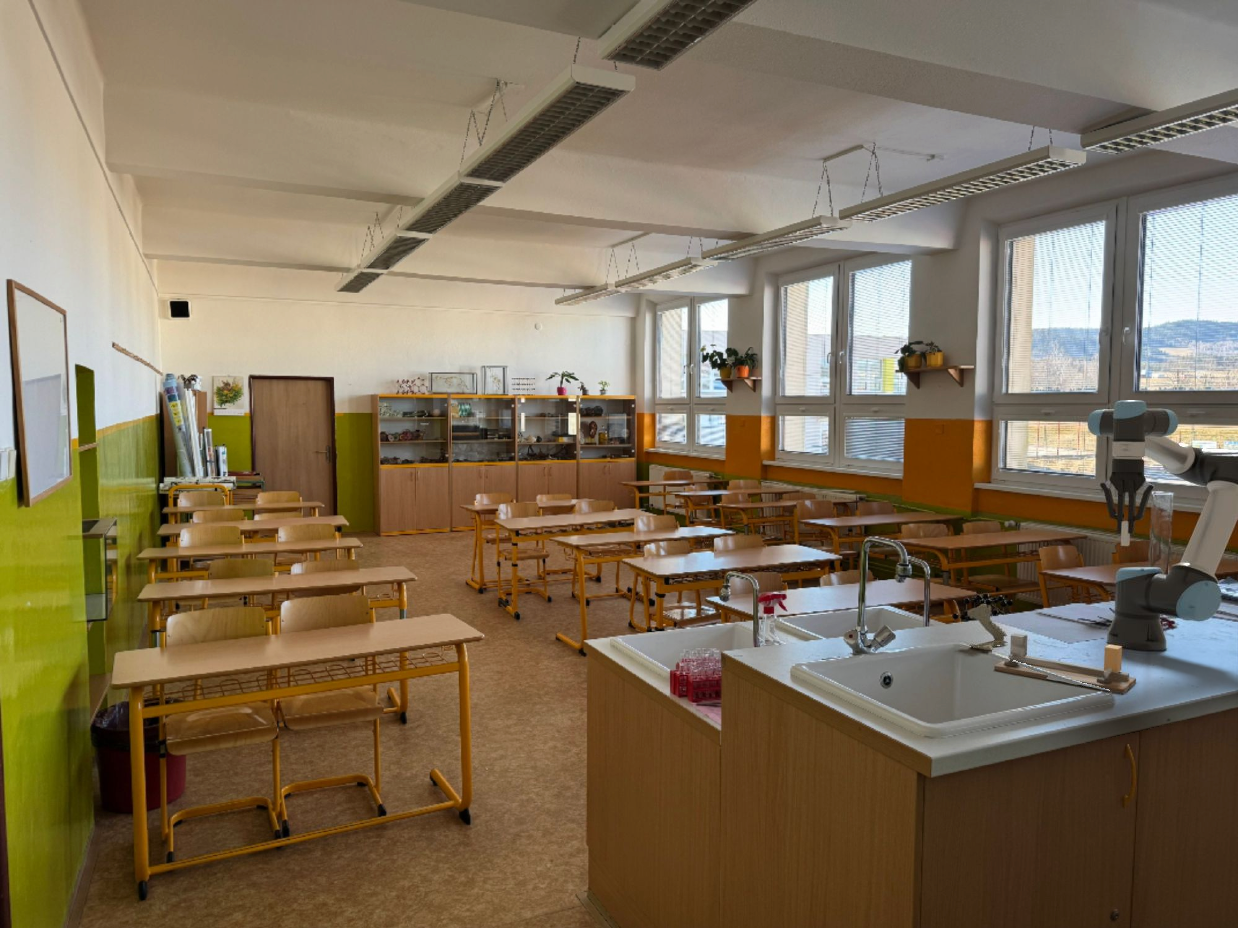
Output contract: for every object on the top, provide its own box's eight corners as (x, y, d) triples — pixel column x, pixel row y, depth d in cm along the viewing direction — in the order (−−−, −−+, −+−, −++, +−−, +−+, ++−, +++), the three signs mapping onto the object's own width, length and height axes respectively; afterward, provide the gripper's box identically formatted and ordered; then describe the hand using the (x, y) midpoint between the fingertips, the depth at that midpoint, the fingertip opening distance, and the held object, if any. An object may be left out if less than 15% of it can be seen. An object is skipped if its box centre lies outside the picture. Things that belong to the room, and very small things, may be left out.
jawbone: (1011, 664, 253) (987, 648, 245) (986, 663, 259) (961, 648, 250) (1013, 618, 259) (990, 601, 250) (989, 618, 264) (965, 602, 256)
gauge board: (1010, 660, 238) (1011, 630, 238) (1135, 682, 218) (1136, 650, 217) (994, 669, 228) (995, 639, 228) (1123, 694, 208) (1124, 660, 208)
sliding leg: (1107, 670, 221) (1108, 644, 220) (1121, 672, 219) (1122, 646, 218) (1098, 677, 214) (1099, 650, 214) (1112, 679, 212) (1113, 652, 212)
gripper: (1097, 457, 235) (1094, 544, 236) (1153, 459, 226) (1150, 549, 227) (1104, 457, 240) (1101, 541, 241) (1159, 458, 232) (1156, 546, 233)
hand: (1125, 545), depth 234 cm, fingers closed
